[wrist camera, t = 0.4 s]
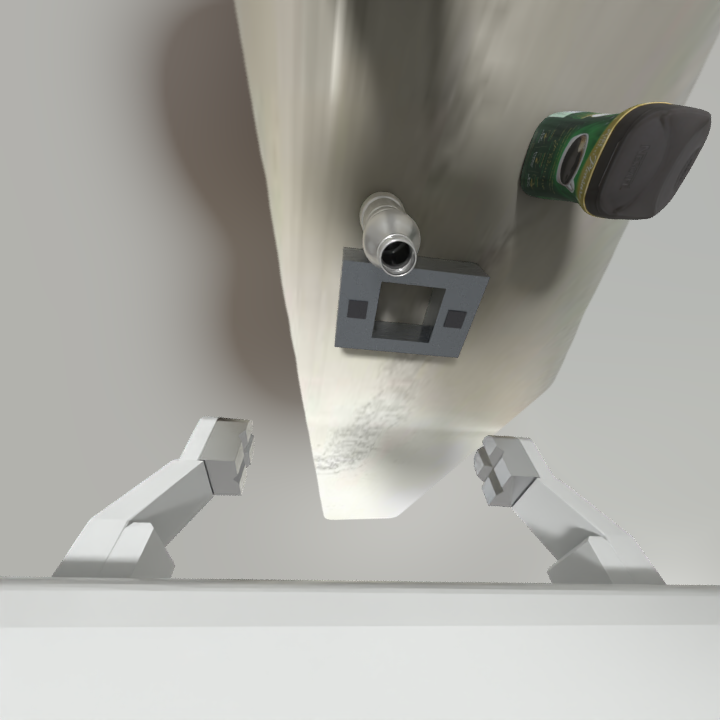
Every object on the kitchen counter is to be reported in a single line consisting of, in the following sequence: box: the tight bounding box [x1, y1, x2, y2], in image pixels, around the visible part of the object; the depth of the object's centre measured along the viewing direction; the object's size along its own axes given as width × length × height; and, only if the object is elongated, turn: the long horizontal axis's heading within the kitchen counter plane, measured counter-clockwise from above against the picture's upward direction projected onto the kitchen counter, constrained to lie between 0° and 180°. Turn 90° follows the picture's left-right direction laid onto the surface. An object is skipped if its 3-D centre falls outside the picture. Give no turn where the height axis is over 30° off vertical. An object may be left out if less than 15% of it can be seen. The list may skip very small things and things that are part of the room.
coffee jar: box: [521, 102, 711, 220], centre depth 34 cm, size 10×8×19 cm
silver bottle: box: [359, 192, 421, 277], centre depth 37 cm, size 6×7×20 cm
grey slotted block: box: [335, 247, 490, 358], centre depth 51 cm, size 15×22×6 cm
